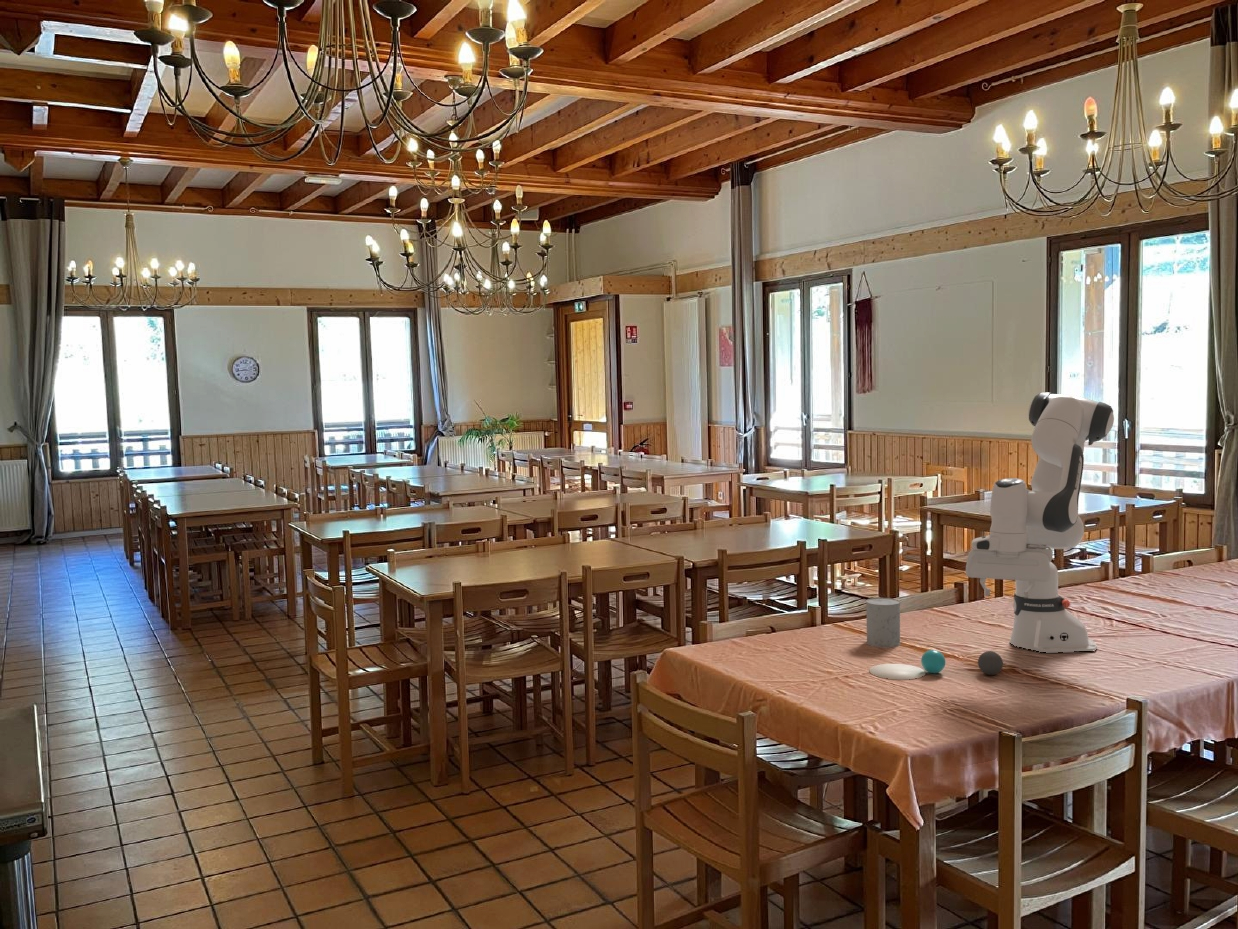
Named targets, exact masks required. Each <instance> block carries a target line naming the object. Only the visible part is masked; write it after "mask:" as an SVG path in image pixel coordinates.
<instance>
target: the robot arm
mask: <svg viewBox="0 0 1238 929" xmlns="http://www.w3.org/2000/svg"><path fill="white" fill-rule="evenodd" d="M1027 413H1028V421H1029V423H1030V424H1031V425H1032V426H1033V427H1034V429H1033V431H1032V434H1031V439H1030V443H1031V447H1032V450H1033V451H1034V453H1035V455H1037V457H1039V458H1038V460H1037V463H1036V466H1035V467H1034V471H1033V474H1032V477H1031V480H1030V487H1031V489H1032V490H1031V489H1028V488H1027V485H1026V480H1024V479H1021V478H1016V477H1015V478H1014V477H1012V478H1011V477H1010V478H1009V477H1008V478H1002V479H999V480H997V481H994V483H993V486H992V490H991V496H990V498H991V499H990V507H989V508H990V510H989V513H990V518H991V526H990V528H989V534H988V535H983V536H980V537H975V538H973V539H972V540H971V543H970V544H971V545H970V546H971V549H970V550H969V552H968V554H967V557H966V558H967V559H966V565H965V575H966V577H967V578H974V579H975V578H976V579H979V583H980V585H981V587H982V589H983V590H984V591H983V592H984V593H983V595H984V596H985V597H990V596H991V587H987V585H986V582H987V579H988V580H989V579H990V580H991V579H993V580H1009V581H1011V580H1012V581H1015V593H1014V594H1013V604H1012V605H1013V614H1014V617H1013V618H1014V620H1013V627H1012V630H1011V632H1012V633H1011V635H1010V639H1009V641H1010V643H1011V644H1013V645H1014V647H1016V646H1017V647H1016V648H1019V647H1023V648H1026V649H1025V650H1028V649H1031V650H1030V651H1033V650H1036V651H1039V652H1038V653H1040V652H1046V653H1045V654H1054V653H1058V652H1063V653H1075V652H1074V651H1093V650H1096V649H1097V650H1098V645H1097V643H1096V641H1094V640H1093V639H1091V638H1089V634H1088V630H1087V627H1086V625H1085V624H1084V623H1083V621H1081V620H1080V619H1079V618H1077V617H1076V616H1075V615H1074V614H1072V613H1071V612H1069V611H1068V610H1067V609H1066V608H1069V607H1070V606H1071V602H1070V601H1069V599H1066V598H1064V597H1062V596H1061V595H1059V572H1058V568H1057V566H1056V565H1055V563H1053V562H1052V560H1053V554H1054V553H1053V550H1062V549H1063V550H1066V549H1073V548H1075V547H1077V546H1078V545H1079V544H1080V543H1081V541H1082V540H1083V537H1084V535H1085V527H1084V526H1085V524H1084V523H1083V520H1082V518H1081V517H1080V515H1079V498H1080V491H1081V485H1082V479H1083V472H1084V463H1085V456H1084V450H1085V443H1086V441H1088V443H1087V445H1088V446H1092V445H1093V444H1094V443H1097V442H1099V441H1101V440H1103V439H1104V438H1106V437H1107V436H1108V434H1109V432H1110V431H1111V430H1112V428H1113V425H1114V421H1115V416H1114V409H1113V408H1112V406H1111V405H1110V404H1107V403H1105V402H1102V401H1095V400H1093V399H1089V398H1087V397H1081V396H1077V395H1076V396H1075V395H1069V394H1068V395H1067V394H1061V393H1060V394H1058V393H1052V392H1048V391H1047V392H1046V391H1045V392H1040V393H1038V394H1036V395H1035V396H1034V398H1032V400H1031V402H1030V404H1029V407H1028V411H1027ZM1052 549H1053V550H1052ZM1010 643H1009V644H1010ZM1011 644H1010V645H1011ZM1013 645H1012V646H1013ZM1023 648H1022V649H1023ZM1097 650H1096V651H1097ZM1036 651H1035V652H1036ZM1058 654H1059V653H1058Z"/></svg>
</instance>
